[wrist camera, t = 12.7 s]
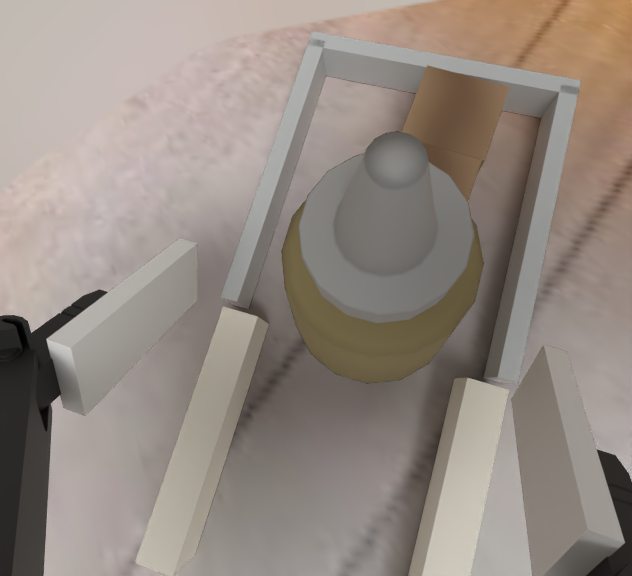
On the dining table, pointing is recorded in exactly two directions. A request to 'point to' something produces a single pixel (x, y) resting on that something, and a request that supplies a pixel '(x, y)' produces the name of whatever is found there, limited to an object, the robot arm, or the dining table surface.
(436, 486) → the slot rails
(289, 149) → the grey flat u-shaped frame
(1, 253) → the dining table surface
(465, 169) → the brown cubic block
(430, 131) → the brown cube block
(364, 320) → the squeeze bottle
